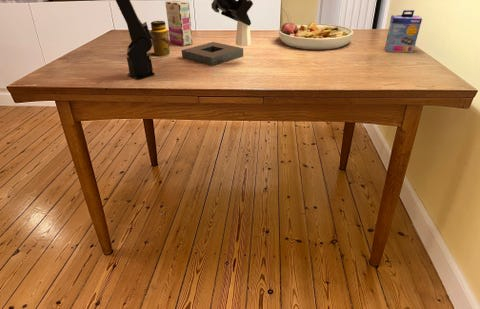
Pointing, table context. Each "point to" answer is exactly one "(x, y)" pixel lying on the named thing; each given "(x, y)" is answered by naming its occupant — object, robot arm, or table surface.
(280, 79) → the table surface
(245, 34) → the pepper shaker
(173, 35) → the candy bar box
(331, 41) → the bowl
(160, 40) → the condiment
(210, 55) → the holder block
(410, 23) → the ink cartridge box
